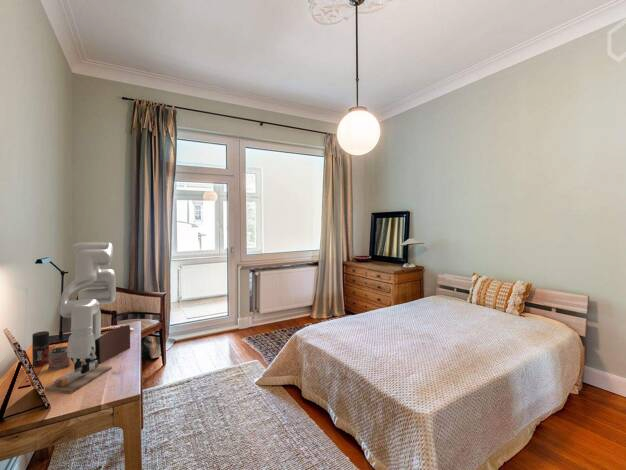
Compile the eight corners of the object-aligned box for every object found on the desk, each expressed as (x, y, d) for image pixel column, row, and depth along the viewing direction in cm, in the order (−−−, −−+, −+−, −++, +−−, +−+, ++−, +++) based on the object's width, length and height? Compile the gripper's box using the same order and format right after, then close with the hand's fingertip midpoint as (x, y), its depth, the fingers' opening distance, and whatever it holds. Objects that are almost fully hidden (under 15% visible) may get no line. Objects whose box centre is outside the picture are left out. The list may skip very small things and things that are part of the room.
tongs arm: (92, 368, 140) (92, 362, 140) (95, 368, 140) (95, 362, 140) (59, 386, 124) (59, 379, 124) (62, 387, 124) (62, 379, 124)
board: (88, 366, 144) (88, 364, 144) (111, 368, 143) (111, 366, 143) (45, 390, 123) (45, 388, 123) (71, 393, 122) (71, 390, 122)
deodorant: (46, 360, 149) (46, 330, 149) (50, 363, 146) (50, 333, 145) (30, 364, 144) (30, 333, 144) (34, 368, 141) (34, 336, 140)
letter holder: (130, 348, 166) (130, 323, 166) (100, 364, 147) (100, 335, 146) (114, 346, 168) (114, 321, 168) (82, 362, 148) (82, 334, 148)
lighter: (47, 370, 139) (47, 349, 139) (49, 367, 142) (49, 346, 142) (68, 367, 143) (68, 346, 142) (71, 364, 146) (71, 344, 145)
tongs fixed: (93, 366, 142) (93, 359, 142) (98, 366, 142) (98, 359, 142) (56, 387, 124) (56, 379, 124) (61, 387, 124) (61, 379, 124)
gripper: (57, 333, 131) (57, 374, 132) (91, 335, 129) (91, 377, 130) (73, 327, 139) (72, 366, 139) (105, 329, 137) (105, 369, 137)
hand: (81, 371), depth 134 cm, fingers open, 3 cm apart
